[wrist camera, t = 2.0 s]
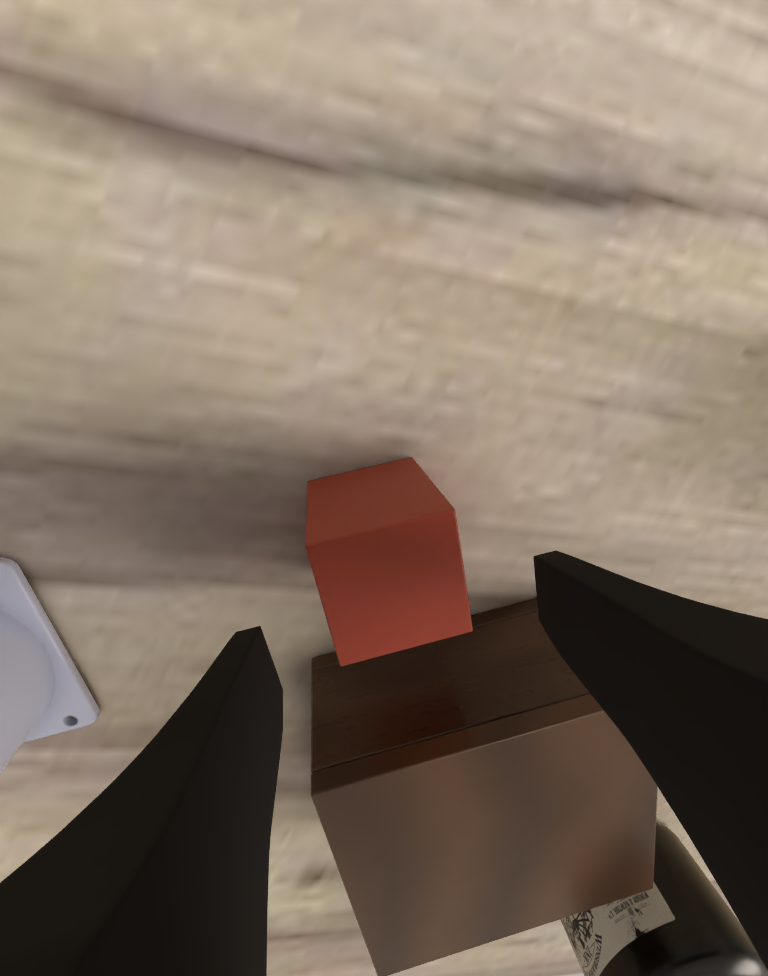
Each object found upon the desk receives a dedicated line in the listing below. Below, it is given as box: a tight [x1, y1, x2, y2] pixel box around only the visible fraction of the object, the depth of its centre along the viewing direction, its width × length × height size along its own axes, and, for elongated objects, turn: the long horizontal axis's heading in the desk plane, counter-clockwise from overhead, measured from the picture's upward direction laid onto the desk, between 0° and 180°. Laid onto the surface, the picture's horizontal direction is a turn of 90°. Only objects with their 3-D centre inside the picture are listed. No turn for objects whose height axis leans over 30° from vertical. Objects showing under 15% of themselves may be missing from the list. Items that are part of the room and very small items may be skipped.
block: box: [306, 457, 473, 666], centre depth 15 cm, size 4×4×6 cm
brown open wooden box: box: [311, 599, 657, 976], centre depth 19 cm, size 12×11×6 cm
